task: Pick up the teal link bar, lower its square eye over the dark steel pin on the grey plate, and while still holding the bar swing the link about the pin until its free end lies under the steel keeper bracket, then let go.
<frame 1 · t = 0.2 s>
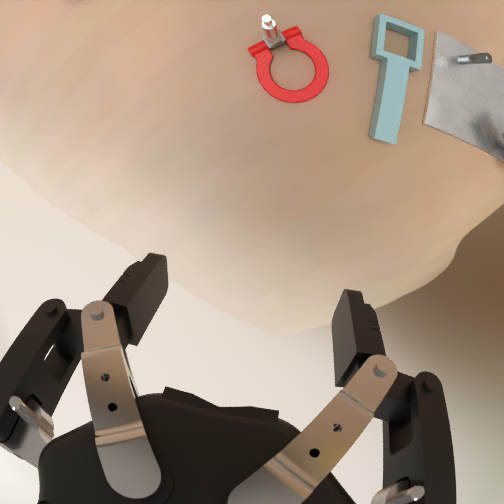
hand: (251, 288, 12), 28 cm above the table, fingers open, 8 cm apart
tow hook: (291, 67, 30), on the table
board: (477, 98, 26), on the table
link: (388, 82, 29), on the table
keeper: (503, 151, 28), resting on board
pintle: (458, 60, 24), resting on board
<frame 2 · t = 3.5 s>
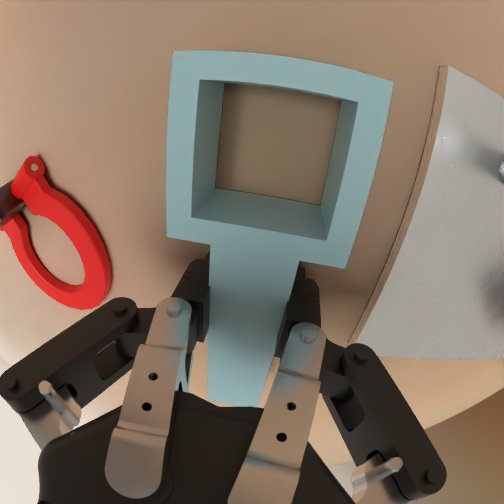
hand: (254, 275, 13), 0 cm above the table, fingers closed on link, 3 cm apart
tow hook: (56, 240, 15), on the table
link: (255, 271, 13), on the table, touching gripper
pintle: (499, 166, 9), resting on board
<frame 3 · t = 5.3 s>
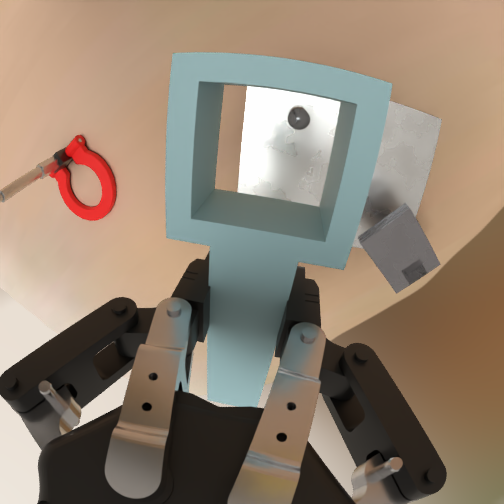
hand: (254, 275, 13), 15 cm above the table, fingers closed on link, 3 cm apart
tow hook: (87, 180, 29), on the table
board: (338, 168, 25), on the table
link: (255, 271, 14), point 15 cm above the table, touching gripper
keeper: (395, 237, 27), resting on board
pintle: (297, 112, 22), resting on board
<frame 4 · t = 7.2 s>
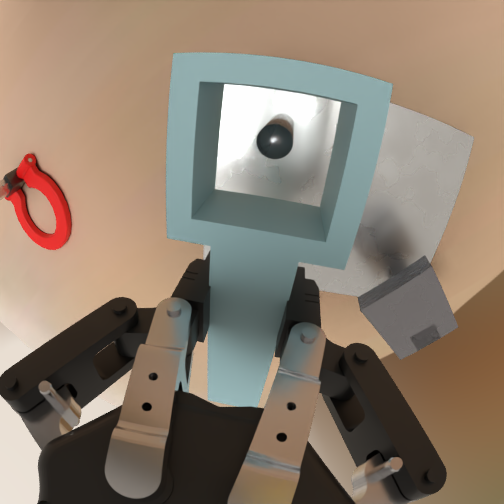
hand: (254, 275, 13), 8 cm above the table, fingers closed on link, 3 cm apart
tow hook: (42, 204, 23), on the table
board: (336, 198, 19), on the table
link: (255, 271, 14), point 8 cm above the table, touching gripper
keeper: (404, 282, 22), resting on board
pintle: (282, 123, 17), resting on board
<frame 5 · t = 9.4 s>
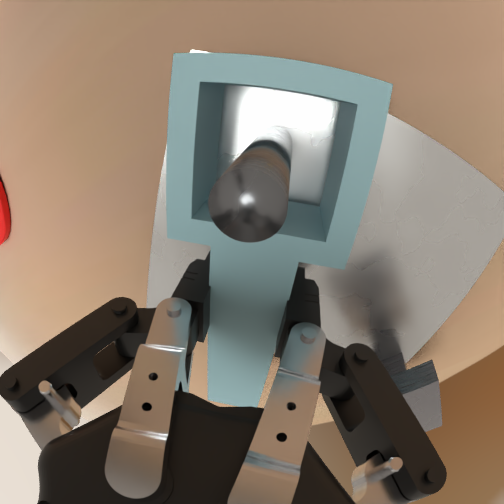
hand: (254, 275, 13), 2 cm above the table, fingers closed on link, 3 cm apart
board: (331, 256, 14), on the table
link: (255, 271, 14), point 1 cm above the table, touching gripper
keeper: (389, 355, 17), resting on board
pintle: (276, 139, 11), resting on board
when the fingers open (2 cm above the table, at t = 11.2 s): link stays where it is, resting on board.
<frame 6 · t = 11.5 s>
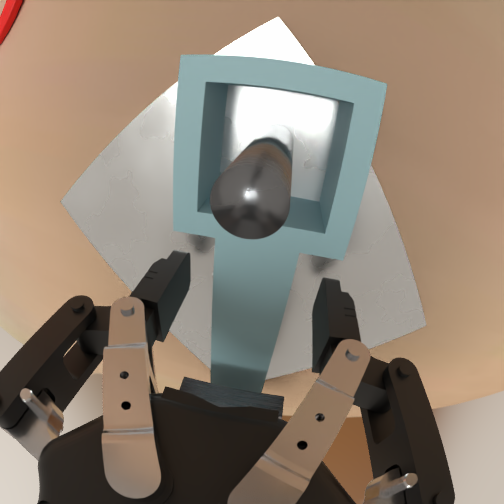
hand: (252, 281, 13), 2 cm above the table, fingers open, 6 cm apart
tow hook: (3, 2, 7), on the table
board: (248, 258, 15), on the table
link: (257, 265, 14), point 1 cm above the table, touching board
keeper: (241, 367, 20), resting on board
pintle: (277, 138, 11), resting on board
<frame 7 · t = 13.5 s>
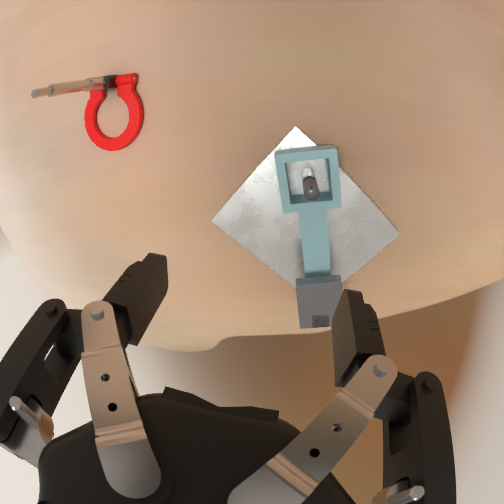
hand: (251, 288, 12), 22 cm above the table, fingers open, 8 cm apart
tow hook: (115, 112, 30), on the table
board: (308, 223, 34), on the table
link: (313, 224, 33), point 1 cm above the table, touching board
keeper: (317, 289, 38), resting on board
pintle: (307, 172, 30), resting on board
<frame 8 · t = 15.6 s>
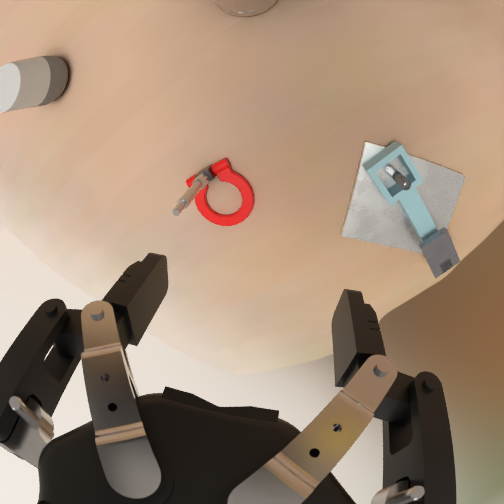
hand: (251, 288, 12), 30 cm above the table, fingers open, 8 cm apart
tow hook: (223, 194, 43), on the table
board: (405, 202, 38), on the table
link: (409, 201, 37), point 1 cm above the table, touching board
keeper: (431, 244, 41), resting on board
smart speaker: (57, 78, 34), on the table
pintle: (388, 168, 36), resting on board
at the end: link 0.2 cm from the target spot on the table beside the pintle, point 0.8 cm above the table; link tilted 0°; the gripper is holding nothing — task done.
